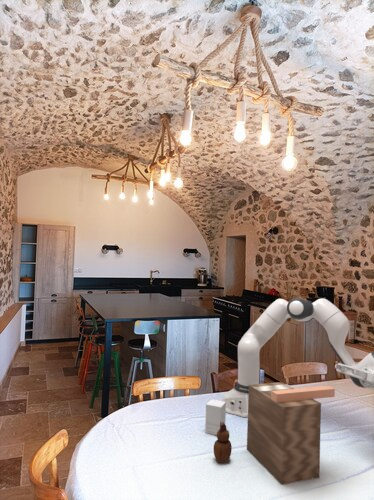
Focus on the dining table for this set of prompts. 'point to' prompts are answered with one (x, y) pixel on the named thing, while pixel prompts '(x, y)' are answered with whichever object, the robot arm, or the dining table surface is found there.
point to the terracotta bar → (302, 394)
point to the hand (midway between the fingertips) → (344, 369)
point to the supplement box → (214, 416)
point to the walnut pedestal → (284, 434)
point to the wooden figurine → (222, 444)
